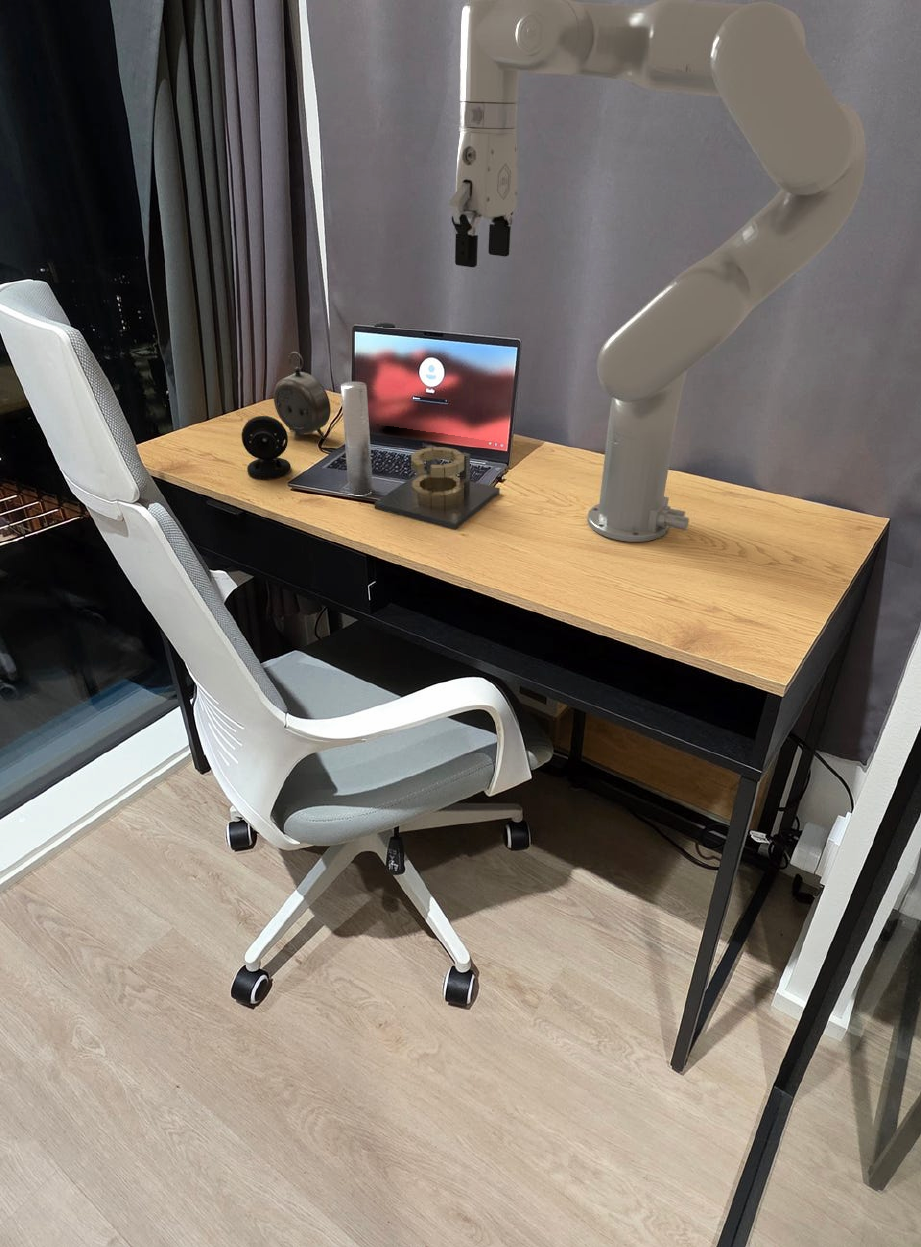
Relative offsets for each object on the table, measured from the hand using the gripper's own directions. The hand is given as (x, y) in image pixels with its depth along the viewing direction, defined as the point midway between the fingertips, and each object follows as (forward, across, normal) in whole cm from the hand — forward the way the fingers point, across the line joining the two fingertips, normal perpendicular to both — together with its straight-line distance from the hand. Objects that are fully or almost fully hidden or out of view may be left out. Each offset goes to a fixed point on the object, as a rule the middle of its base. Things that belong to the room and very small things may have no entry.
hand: (482, 260), depth 113 cm
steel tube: (+36, -10, +16) cm, 41 cm away
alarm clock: (+37, +4, +40) cm, 55 cm away
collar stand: (+36, -7, +3) cm, 37 cm away
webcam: (+37, -12, +35) cm, 52 cm away
